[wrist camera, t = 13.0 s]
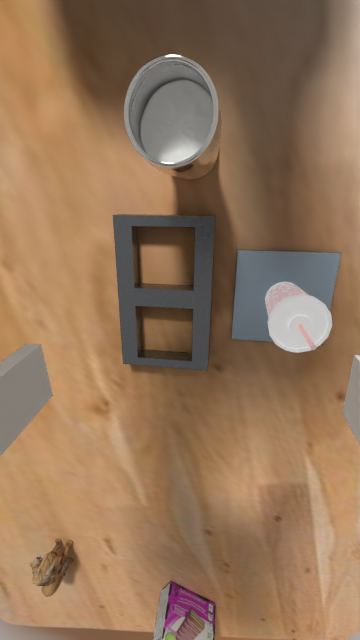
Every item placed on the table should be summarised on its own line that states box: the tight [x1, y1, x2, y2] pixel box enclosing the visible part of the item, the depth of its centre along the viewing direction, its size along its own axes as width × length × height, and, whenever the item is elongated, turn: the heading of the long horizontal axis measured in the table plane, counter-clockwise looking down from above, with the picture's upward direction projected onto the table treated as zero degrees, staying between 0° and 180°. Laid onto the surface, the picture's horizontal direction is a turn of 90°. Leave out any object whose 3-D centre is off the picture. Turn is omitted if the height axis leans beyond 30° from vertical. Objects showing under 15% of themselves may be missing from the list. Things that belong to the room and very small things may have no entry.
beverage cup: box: [265, 282, 332, 353], centre depth 32 cm, size 6×6×14 cm
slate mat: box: [231, 250, 341, 345], centre depth 39 cm, size 12×12×1 cm
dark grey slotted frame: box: [113, 214, 215, 370], centre depth 40 cm, size 20×12×2 cm, turn 0°
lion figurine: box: [30, 539, 73, 597], centre depth 61 cm, size 15×5×9 cm, turn 177°
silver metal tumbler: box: [124, 54, 222, 180], centre depth 27 cm, size 7×7×15 cm
